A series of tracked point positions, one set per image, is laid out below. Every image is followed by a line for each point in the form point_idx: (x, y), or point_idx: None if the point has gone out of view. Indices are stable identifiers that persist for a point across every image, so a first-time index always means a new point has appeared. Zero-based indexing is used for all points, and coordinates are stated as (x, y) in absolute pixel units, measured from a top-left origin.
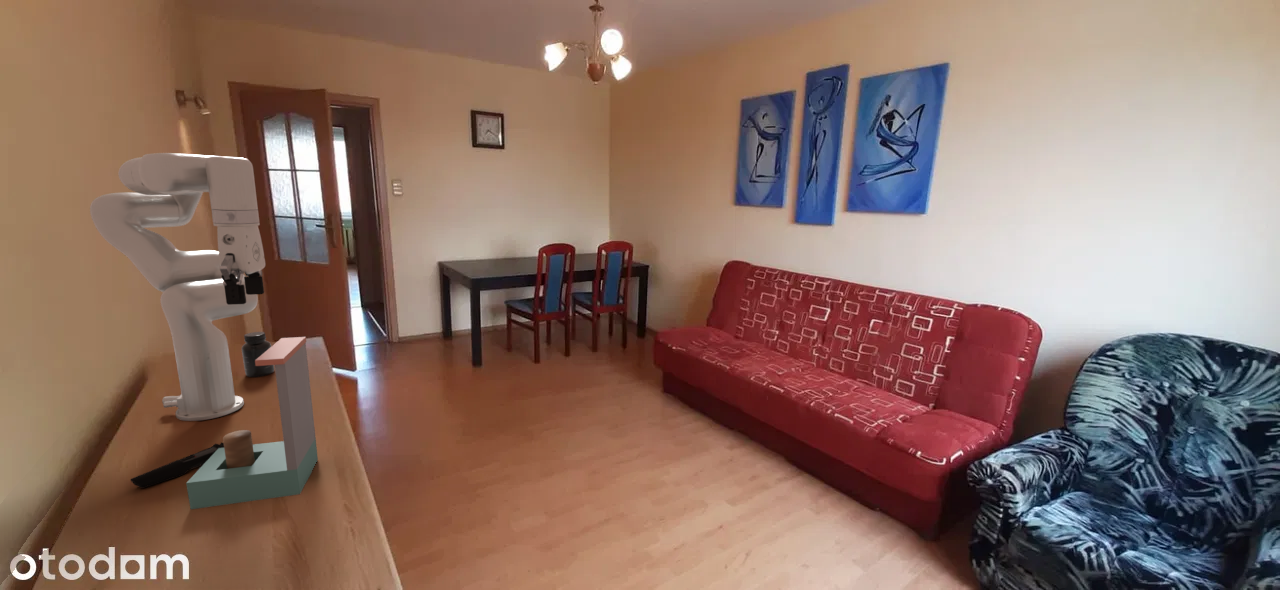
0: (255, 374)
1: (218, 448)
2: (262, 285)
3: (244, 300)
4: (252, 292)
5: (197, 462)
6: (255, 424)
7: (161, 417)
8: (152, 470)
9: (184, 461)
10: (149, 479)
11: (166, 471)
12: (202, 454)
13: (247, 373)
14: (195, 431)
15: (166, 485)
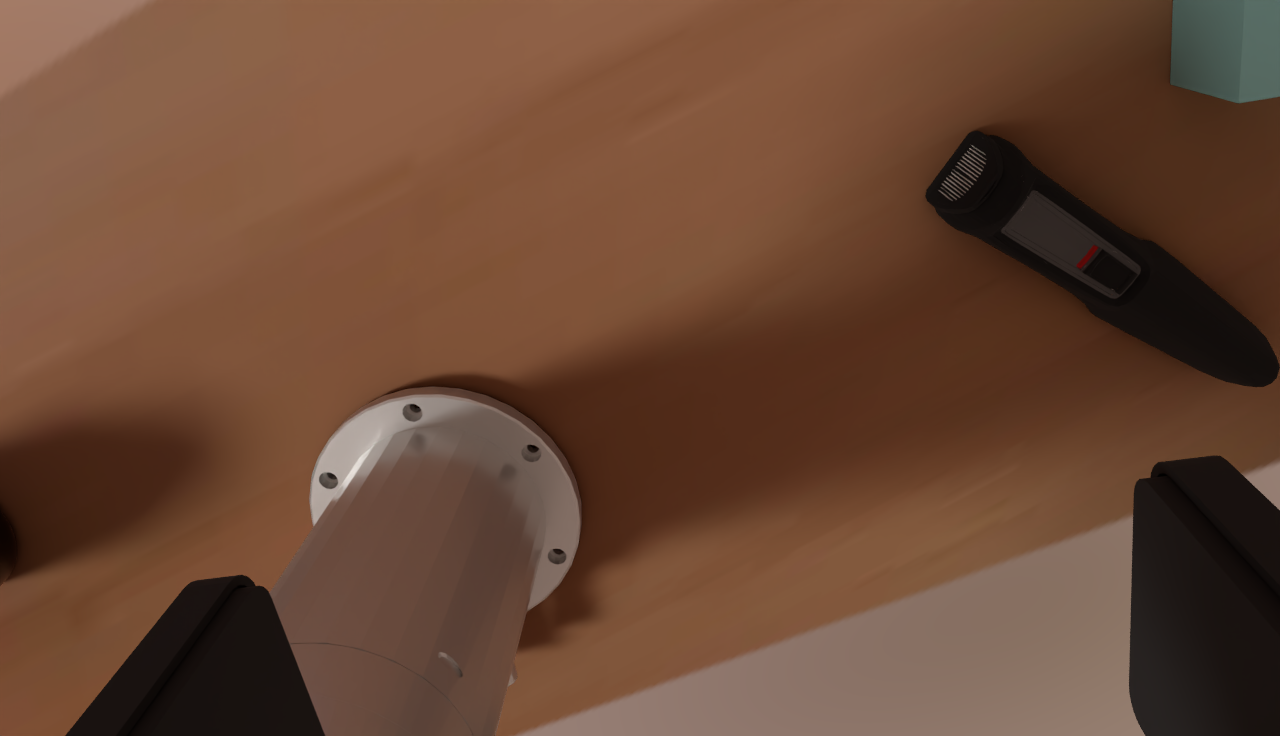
0: (3, 534)
1: (1243, 101)
2: (143, 690)
3: (1250, 489)
4: (305, 729)
5: (1112, 224)
6: (631, 209)
7: (526, 650)
8: (1217, 344)
9: (1137, 269)
10: (1247, 326)
11: (1199, 297)
12: (1076, 230)
13: (5, 575)
14: (688, 443)
15: (1228, 261)
